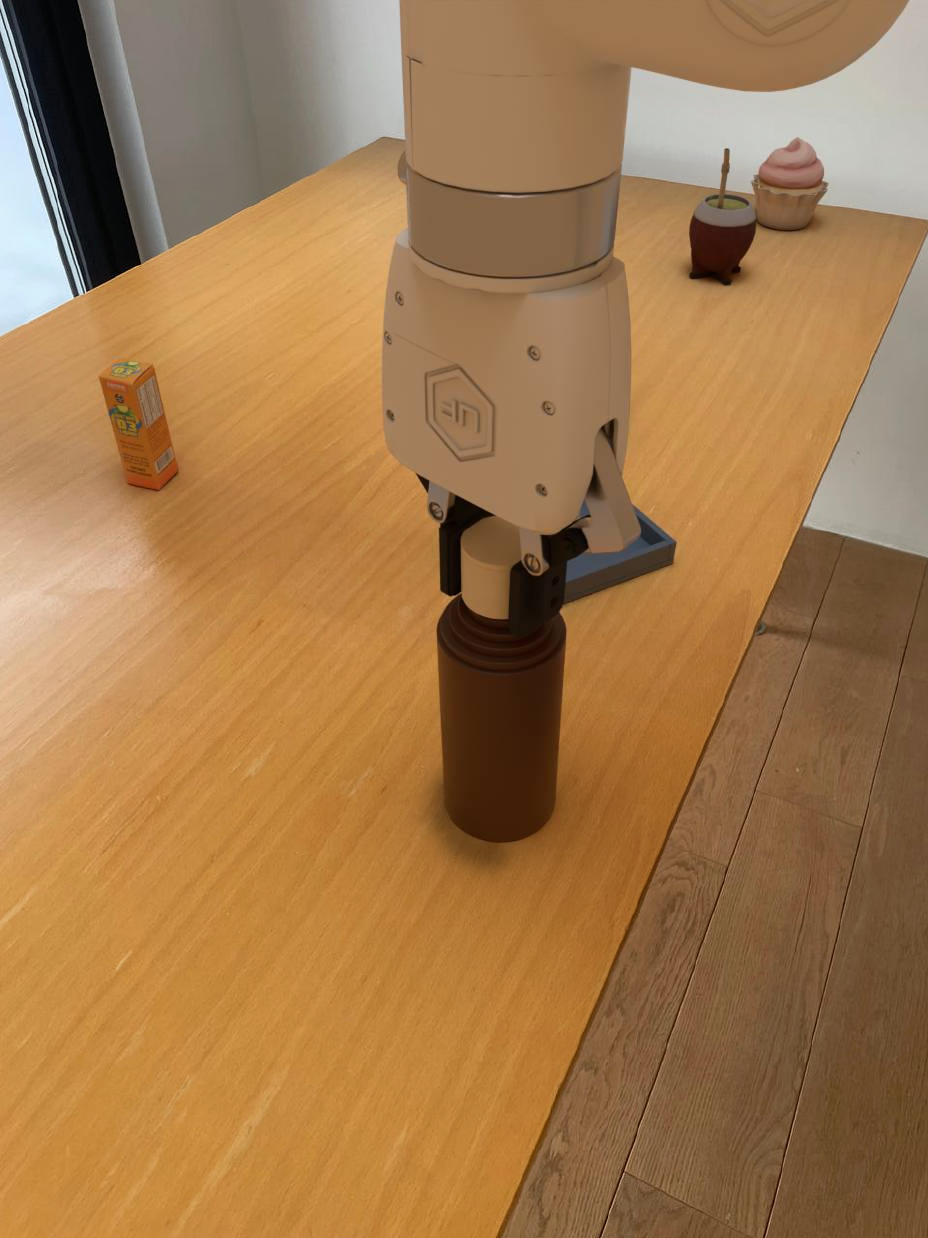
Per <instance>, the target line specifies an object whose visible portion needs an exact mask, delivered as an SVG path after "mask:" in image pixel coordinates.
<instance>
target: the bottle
mask: <svg viewBox="0 0 928 1238" xmlns="http://www.w3.org/2000/svg"><path fill="white" fill-rule="evenodd" d="M435 630H436V632H435V633H436V651H437V652H436V654H437V672H438V673H437V674H438V692H439V693H438V694H439V713H440V736H441V737H440V738H441V755H442V778H443V779H442V780H443V797H444V798H443V799H444V800H443V801H444V806H445V809H446V811H447V814H448V816H449V817H450V819H451V820H452V822H453V823H454V824H455V825H457V827H458V828H460V829H461V830H462V831H463V832H465V833H467V834H469V835H470V836H472V837H475V838H477V839H480V840H484V841H489V842H501V843H503V842H511V841H516V840H521V839H524V838H526V837H528V836H531V835H532V834H534V833H536V832H537V831H538V830H540V829H541V828H542V827H543V826H544V825H545V824H546V822H548V820H549V819H550V818H551V816H552V814H553V811H554V808H555V804H556V796H557V795H556V794H557V782H558V781H557V779H558V766H559V765H558V764H559V753H560V752H559V750H560V739H561V738H560V737H561V736H560V735H561V722H562V721H561V720H562V707H563V695H564V694H563V693H564V677H565V665H566V663H565V662H566V649H567V634H568V633H567V631H568V630H567V625H566V622H565V619H564V617H563V616H562V613H561V612H560V611H559V613H558V614H557V615H556V616H555V617H553V618H552V619H551V620H549V621H548V622H542V623H541V624H540V625H538V626H537V627H536V628H534V629H533V630H532V631H531V632H529V633H528V634H527V635H525V636H524V637H523V638H518V637H516V636H515V635H513V634H511V633H510V629H509V628H508V619H492V618H488V617H484V616H482V615H479V614H477V613H475V612H474V611H472V610H471V609H470V608H469V607H468V606H467V605H466V604H465V602H464V600H463V598H462V592H461V593H459V594H458V595H456V596H454V598H452V599H451V601H449V602H448V604H446V606H445V608H444V610H443V611H442V613H441V615H440V617H439V618H438V621H437V623H436V629H435Z"/></svg>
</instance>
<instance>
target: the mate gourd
mask: <svg viewBox="0 0 928 1238" xmlns="http://www.w3.org/2000/svg"><path fill="white" fill-rule="evenodd" d="M723 150H724V151H723V162H722V163H721V168H720V172H721V179H720V184H719V193H716V194H711V195H708V196H705V197H704V198H703V199H702V200H701V201H700V202H699V204H698V205H697V206H696V207H695V209H694V210H693V214H692V216H691V218H690V223H689V229H688V237H689V245H690V258H691V259H690V260H691V269H692V270H691V272H689V273H688V274H689V276H688V277H689V278H690V279H691V280H695V279H696V280H697V279H703V278H710V277H711V278H712V277H713V278H714V279H716V280H718V281H719V282H720V283H721V284H722V285H724V286H730V285H732V282H733V280H732V279H731V278H730V277H731V274H737V273H741V269H742V267H741V266H740V263H741V261H742V260H743V259H744V258H745V256H746V255H747V254H748V251H749V250H750V248H751V246H752V243H753V242H754V240H755V237H756V232H757V216H756V210H754V206H753V205H752V202H751V201H750V200H749V199H747V198H746V197H744V196H740V195H737V194H731V193H726V187H727V180H728V174H729V173H730V167H731V164H730V157H731V156H730V154H731V150H730V148H728V147H725V148H724V149H723Z"/></svg>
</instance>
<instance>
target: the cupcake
mask: <svg viewBox="0 0 928 1238" xmlns="http://www.w3.org/2000/svg"><path fill="white" fill-rule="evenodd" d="M824 177H825V167H824V165H823V163H822V161H821V159H820V158H818V156H817V152H816V150H815V149H814V147H813V146H812V145H811V144H810V143H809V142H807V141H805V140H804V139H802V138H800V137H798V136H797V137H795V138H794V139H792V140H791V141H790V142H789V143H788V145H787V146H784V147H779V148H776V149H774V150H773V151H771V153H770V154H769V156H768V157H767V158H766V159H765V161H764V162H763V163H762V164H760V166H759V169H758V173H756V174H753V179H752V180H750V183H751V187H752V190H753V193H754V196H755V214H756V221H757V222H758V223H759V224H761V225H762V226H764V227H767V228H770V229H775V230H780V231H794V230H800V229H804V228H805V227H806V226H808V224H809V223H810V221H811V220H812V217H813V215H814V213H815V211H816V208H817V206H818V204H819V202H820V201H821V200H822V198H823V197H824V196H825V194H826V193H828V191H829V188H828V186H830V185H829V184H830V183H829V182H827V181H825V180H824Z"/></svg>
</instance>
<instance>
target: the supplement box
mask: <svg viewBox="0 0 928 1238" xmlns="http://www.w3.org/2000/svg"><path fill="white" fill-rule="evenodd" d="M98 379H99V382H100V386H101V390H102V395H103V398H104V401H105V405H106V409H107V413H108V416H109V420H110V424H111V427H112V431H113V433H114V438H115V439H114V440H115V443H116V445H117V450H118V454H119V457H120V460H121V464H122V467H123V471H124V476H125V479H126V483H127V484H128V485H134V486H137V487H142V488H148V489H151V490H156V491H160V490H161V489H162V488H163V487H164V486H166V484H167V483H168V482H169V481H171V479H172V478H173V477H174V476H175V475H176V474H177V472H179V465H178V461H177V458H176V457H177V456H176V454H175V450H174V445H173V441H172V438H171V433H170V428H169V424H168V420H167V416H166V412H165V407H164V403H163V399H162V395H161V390H160V385H159V382H158V378H157V373H156V369H155V366H154V364H153V363H152V362H142V361H136V360H132V359H128V358H127V357H118V358H116V360H115V361H114V362H112V363H111V364H110V365H109V366H107V367H106V368H105V369H104V370H103V371H102V372H101V373H100V374H98Z"/></svg>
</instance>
